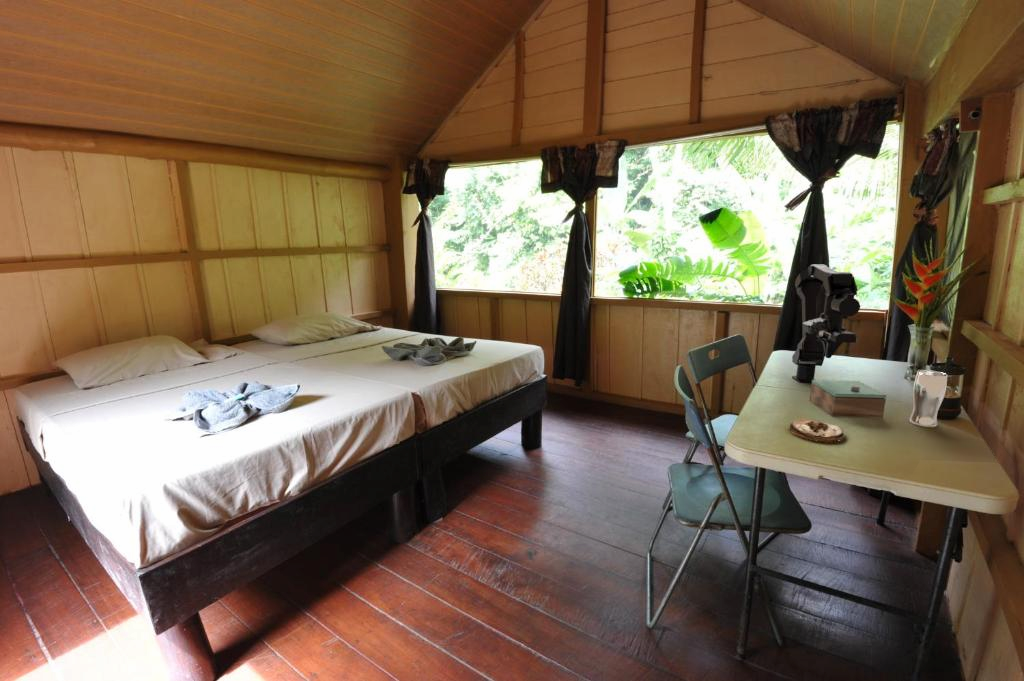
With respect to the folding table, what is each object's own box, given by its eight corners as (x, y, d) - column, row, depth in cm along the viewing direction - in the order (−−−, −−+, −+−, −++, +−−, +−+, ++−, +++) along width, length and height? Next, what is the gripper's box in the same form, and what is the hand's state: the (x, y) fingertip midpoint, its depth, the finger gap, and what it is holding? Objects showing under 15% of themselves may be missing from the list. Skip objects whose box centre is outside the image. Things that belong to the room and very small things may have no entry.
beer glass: (944, 428, 136) (954, 377, 133) (916, 427, 138) (925, 376, 134) (929, 419, 143) (938, 370, 140) (902, 417, 144) (910, 369, 141)
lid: (811, 382, 158) (812, 376, 157) (857, 383, 156) (858, 377, 156) (835, 396, 144) (836, 389, 144) (886, 398, 143) (887, 390, 142)
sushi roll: (800, 420, 144) (802, 407, 143) (857, 437, 132) (860, 423, 131) (773, 431, 136) (775, 417, 135) (832, 451, 124) (834, 436, 123)
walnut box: (809, 400, 159) (811, 383, 158) (855, 402, 158) (857, 384, 157) (832, 416, 146) (835, 397, 144) (882, 418, 144) (885, 399, 143)
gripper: (794, 306, 168) (789, 350, 171) (822, 315, 150) (816, 365, 153) (829, 306, 167) (823, 351, 170) (861, 316, 149) (854, 365, 152)
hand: (827, 357), depth 161 cm, fingers closed
